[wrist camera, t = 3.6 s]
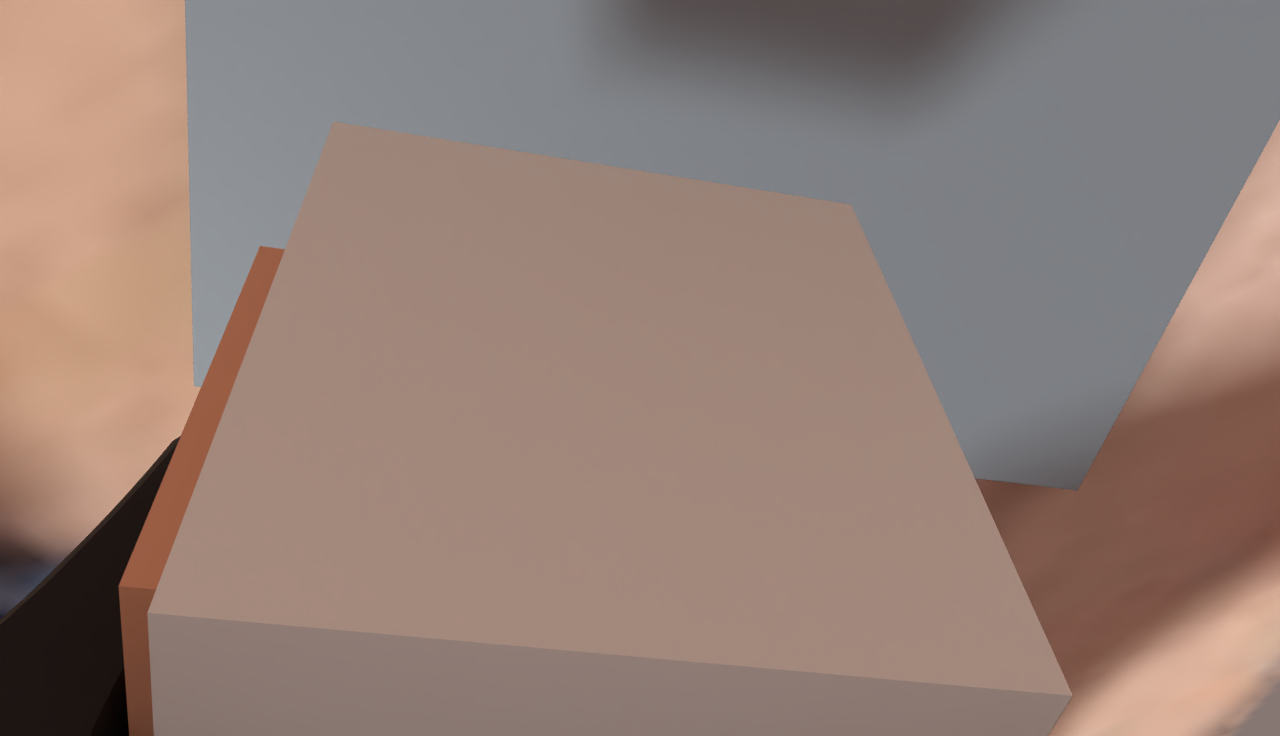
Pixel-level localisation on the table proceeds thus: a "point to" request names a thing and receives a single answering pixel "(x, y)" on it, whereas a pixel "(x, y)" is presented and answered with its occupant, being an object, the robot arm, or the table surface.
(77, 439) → the table surface
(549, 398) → the carton
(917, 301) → the grey tray
